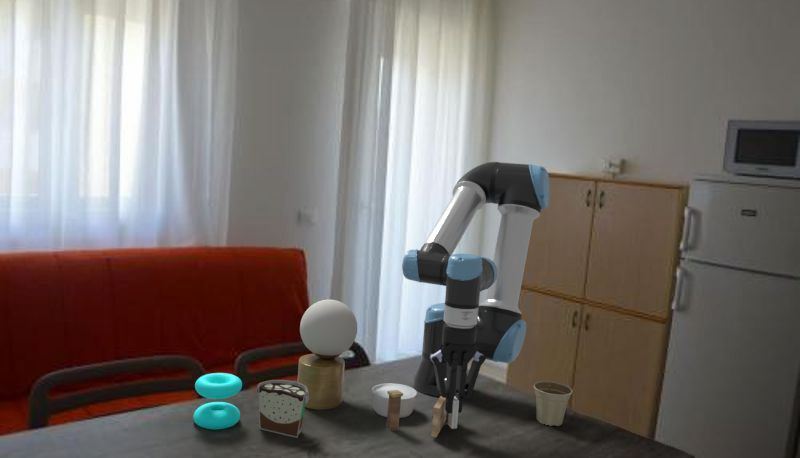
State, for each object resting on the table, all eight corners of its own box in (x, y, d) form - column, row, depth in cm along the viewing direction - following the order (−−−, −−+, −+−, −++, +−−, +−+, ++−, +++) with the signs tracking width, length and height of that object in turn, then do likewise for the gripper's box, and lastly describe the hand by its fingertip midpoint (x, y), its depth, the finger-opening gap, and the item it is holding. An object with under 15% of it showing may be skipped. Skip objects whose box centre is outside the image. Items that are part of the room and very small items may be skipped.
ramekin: (377, 399, 169) (378, 379, 168) (420, 407, 166) (421, 387, 166) (363, 415, 158) (365, 394, 157) (409, 423, 155) (411, 402, 155)
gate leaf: (440, 419, 157) (442, 392, 156) (446, 420, 157) (448, 393, 156) (430, 436, 147) (433, 407, 146) (436, 437, 147) (439, 408, 146)
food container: (316, 429, 148) (319, 385, 147) (303, 439, 142) (306, 394, 141) (267, 418, 152) (270, 375, 151) (253, 427, 146) (256, 383, 145)
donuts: (242, 386, 143) (194, 386, 140) (240, 431, 144) (191, 432, 141) (241, 371, 152) (196, 371, 150) (239, 413, 153) (194, 413, 151)
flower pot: (569, 432, 158) (573, 397, 157) (529, 426, 160) (533, 391, 159) (568, 417, 167) (571, 384, 166) (530, 412, 169) (533, 379, 168)
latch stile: (384, 427, 152) (387, 390, 151) (394, 425, 153) (397, 389, 152) (390, 431, 150) (393, 394, 149) (400, 430, 151) (403, 393, 150)
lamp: (312, 384, 176) (319, 291, 173) (361, 395, 171) (368, 299, 168) (282, 402, 162) (288, 301, 159) (334, 414, 157) (341, 310, 154)
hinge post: (431, 418, 159) (435, 375, 158) (447, 416, 162) (450, 373, 160) (441, 425, 156) (445, 381, 154) (457, 423, 158) (461, 379, 157)
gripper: (438, 328, 142) (430, 434, 145) (493, 328, 146) (484, 431, 148) (427, 319, 149) (420, 420, 152) (480, 319, 153) (472, 418, 155)
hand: (452, 426), depth 150 cm, fingers closed
